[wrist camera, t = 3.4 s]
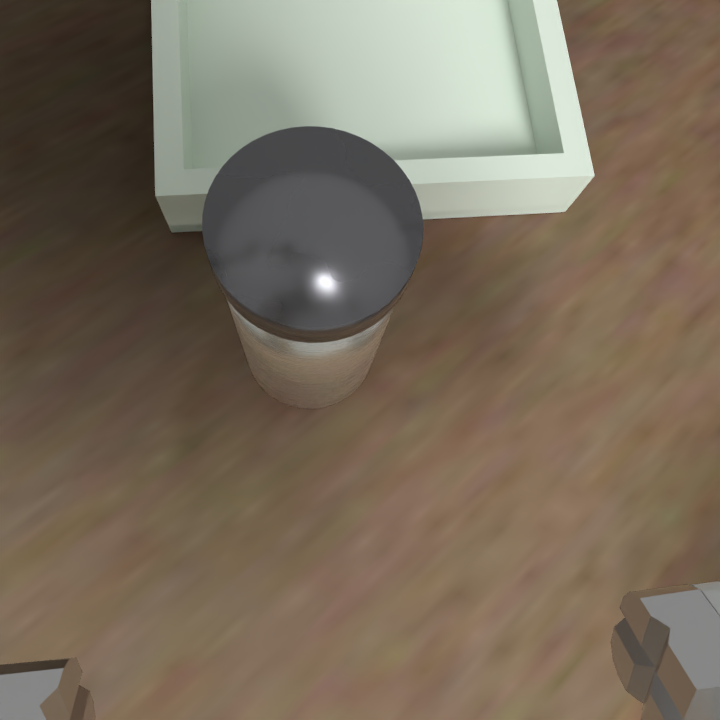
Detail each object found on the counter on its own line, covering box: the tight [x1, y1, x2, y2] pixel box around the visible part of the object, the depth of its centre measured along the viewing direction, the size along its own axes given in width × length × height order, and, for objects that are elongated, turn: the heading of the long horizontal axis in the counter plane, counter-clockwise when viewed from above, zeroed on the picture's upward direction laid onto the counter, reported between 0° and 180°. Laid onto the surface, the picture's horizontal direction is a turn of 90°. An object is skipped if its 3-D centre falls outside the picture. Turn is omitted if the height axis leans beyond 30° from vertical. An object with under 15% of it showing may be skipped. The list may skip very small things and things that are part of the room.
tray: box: [151, 0, 595, 233], centre depth 26 cm, size 16×16×3 cm
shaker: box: [202, 126, 423, 409], centre depth 19 cm, size 5×5×10 cm
